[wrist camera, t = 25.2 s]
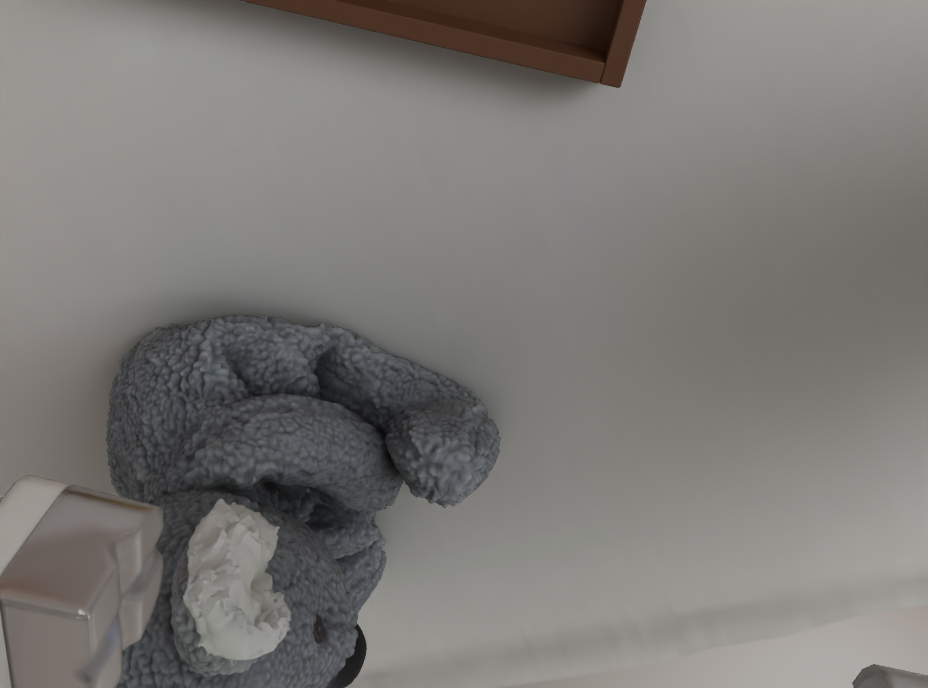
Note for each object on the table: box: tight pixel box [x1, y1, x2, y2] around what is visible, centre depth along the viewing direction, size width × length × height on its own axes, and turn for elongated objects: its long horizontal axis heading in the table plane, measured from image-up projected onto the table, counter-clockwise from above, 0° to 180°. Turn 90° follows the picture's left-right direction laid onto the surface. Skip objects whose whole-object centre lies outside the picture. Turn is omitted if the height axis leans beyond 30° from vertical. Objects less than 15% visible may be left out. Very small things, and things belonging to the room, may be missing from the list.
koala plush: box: [106, 315, 500, 688], centre depth 39 cm, size 17×18×20 cm
